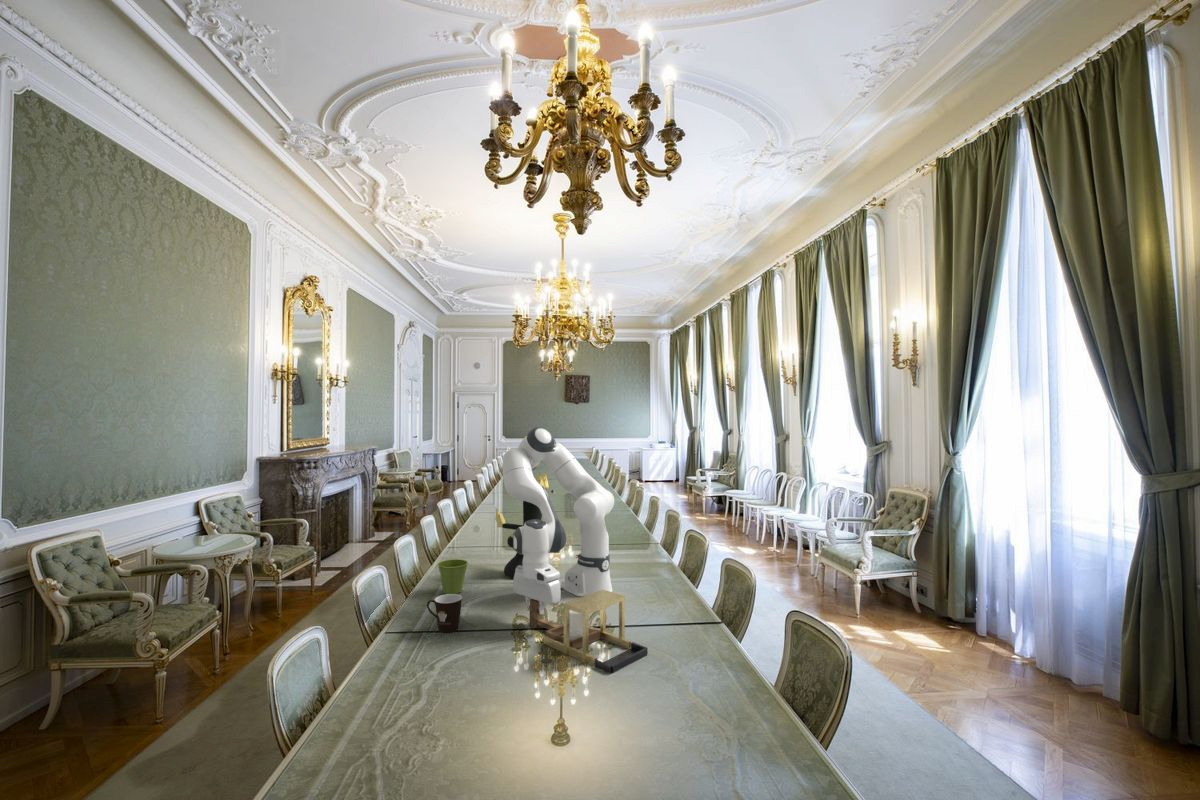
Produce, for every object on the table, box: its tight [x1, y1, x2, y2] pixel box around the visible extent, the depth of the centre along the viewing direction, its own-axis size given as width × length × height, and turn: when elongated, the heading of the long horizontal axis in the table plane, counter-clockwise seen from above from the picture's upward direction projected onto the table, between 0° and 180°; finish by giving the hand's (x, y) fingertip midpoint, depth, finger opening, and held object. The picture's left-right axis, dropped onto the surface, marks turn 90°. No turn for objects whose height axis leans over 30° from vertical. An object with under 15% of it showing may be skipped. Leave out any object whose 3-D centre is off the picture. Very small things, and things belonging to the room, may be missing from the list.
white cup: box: [569, 610, 590, 641], centre depth 172 cm, size 8×8×10 cm
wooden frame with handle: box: [529, 599, 601, 650], centre depth 177 cm, size 25×12×8 cm, turn 47°
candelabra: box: [495, 471, 549, 579], centre depth 239 cm, size 19×22×45 cm
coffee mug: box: [426, 593, 463, 634], centre depth 182 cm, size 12×9×10 cm
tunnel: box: [543, 590, 648, 674], centre depth 167 cm, size 28×17×15 cm, turn 47°
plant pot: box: [436, 558, 469, 594], centre depth 217 cm, size 12×12×11 cm
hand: (535, 611), depth 185 cm, fingers open, 3 cm apart
